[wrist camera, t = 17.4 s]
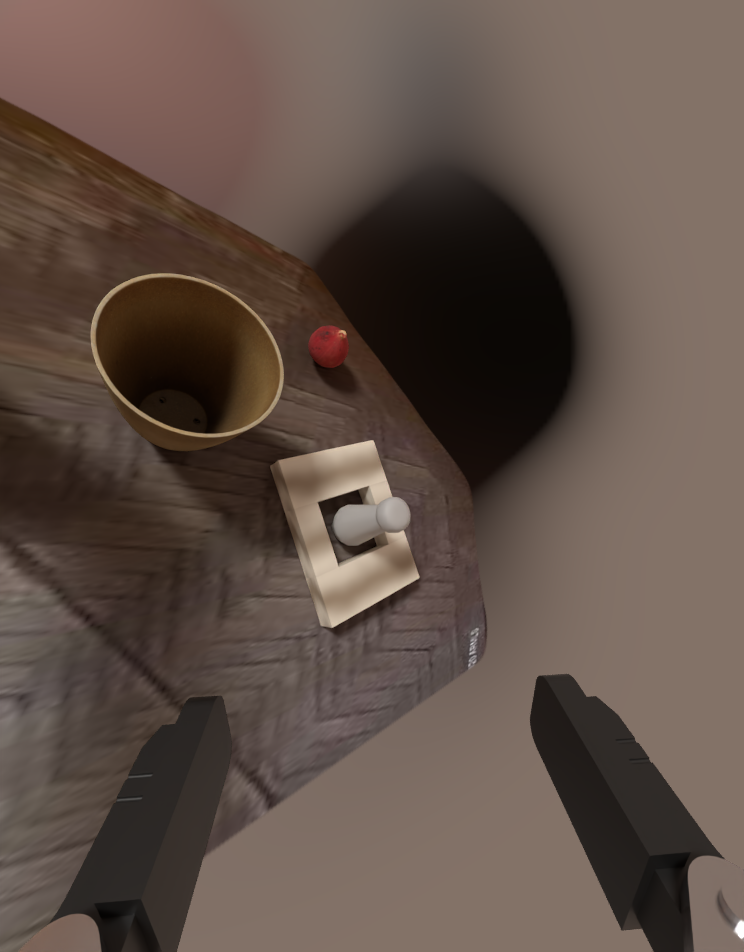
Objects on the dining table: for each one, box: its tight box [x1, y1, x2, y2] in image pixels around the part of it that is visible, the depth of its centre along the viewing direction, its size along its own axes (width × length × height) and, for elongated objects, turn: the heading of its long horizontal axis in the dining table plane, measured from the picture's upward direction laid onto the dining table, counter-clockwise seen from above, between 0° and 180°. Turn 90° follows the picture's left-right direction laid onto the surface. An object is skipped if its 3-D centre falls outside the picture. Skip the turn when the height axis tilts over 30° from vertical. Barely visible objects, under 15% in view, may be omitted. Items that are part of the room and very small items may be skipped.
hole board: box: [270, 440, 420, 628], centre depth 53 cm, size 22×16×3 cm
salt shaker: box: [331, 497, 410, 546], centre depth 49 cm, size 6×6×13 cm
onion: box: [308, 326, 349, 368], centre depth 56 cm, size 6×6×8 cm
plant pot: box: [91, 274, 284, 451], centre depth 38 cm, size 15×15×16 cm
